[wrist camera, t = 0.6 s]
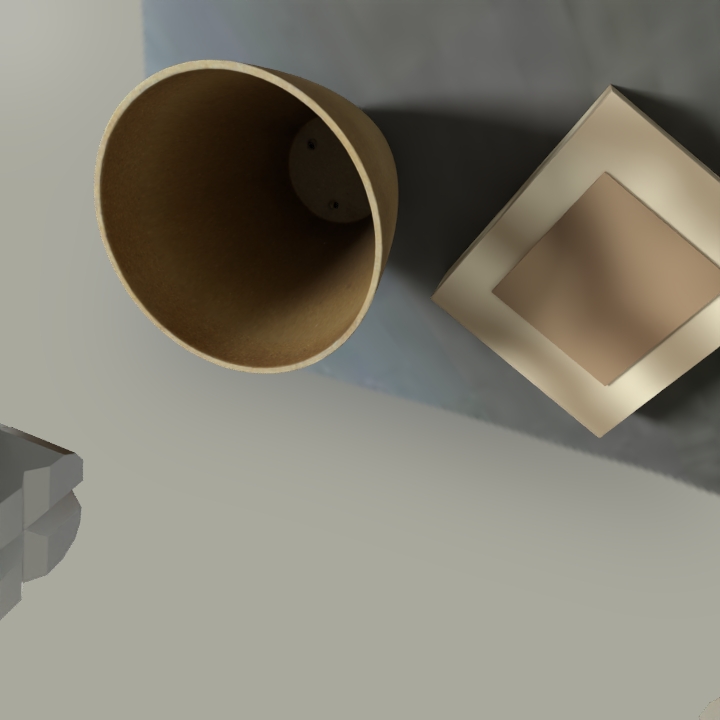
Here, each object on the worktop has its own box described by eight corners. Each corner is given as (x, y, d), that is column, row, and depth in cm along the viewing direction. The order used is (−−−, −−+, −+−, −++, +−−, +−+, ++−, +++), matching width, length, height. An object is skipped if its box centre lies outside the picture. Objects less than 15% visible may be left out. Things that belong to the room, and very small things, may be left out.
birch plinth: (610, 84, 36) (612, 91, 31) (794, 241, 36) (822, 271, 32) (446, 272, 44) (428, 300, 40) (599, 399, 45) (599, 440, 40)
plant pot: (233, 238, 48) (92, 318, 35) (261, 22, 41) (93, 18, 27) (416, 303, 46) (341, 417, 32) (482, 87, 38) (420, 118, 25)
